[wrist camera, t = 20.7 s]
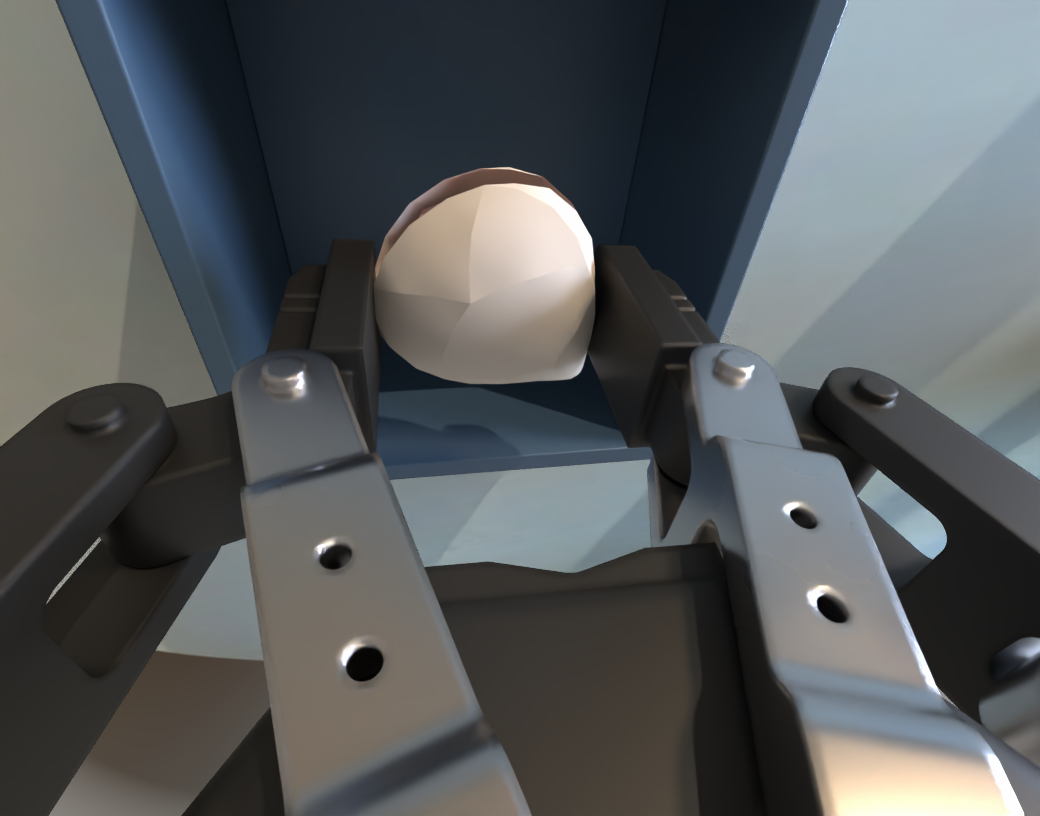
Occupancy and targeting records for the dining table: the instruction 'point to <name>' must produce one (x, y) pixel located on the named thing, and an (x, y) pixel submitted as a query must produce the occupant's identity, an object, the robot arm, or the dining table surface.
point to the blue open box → (448, 162)
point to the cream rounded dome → (488, 281)
